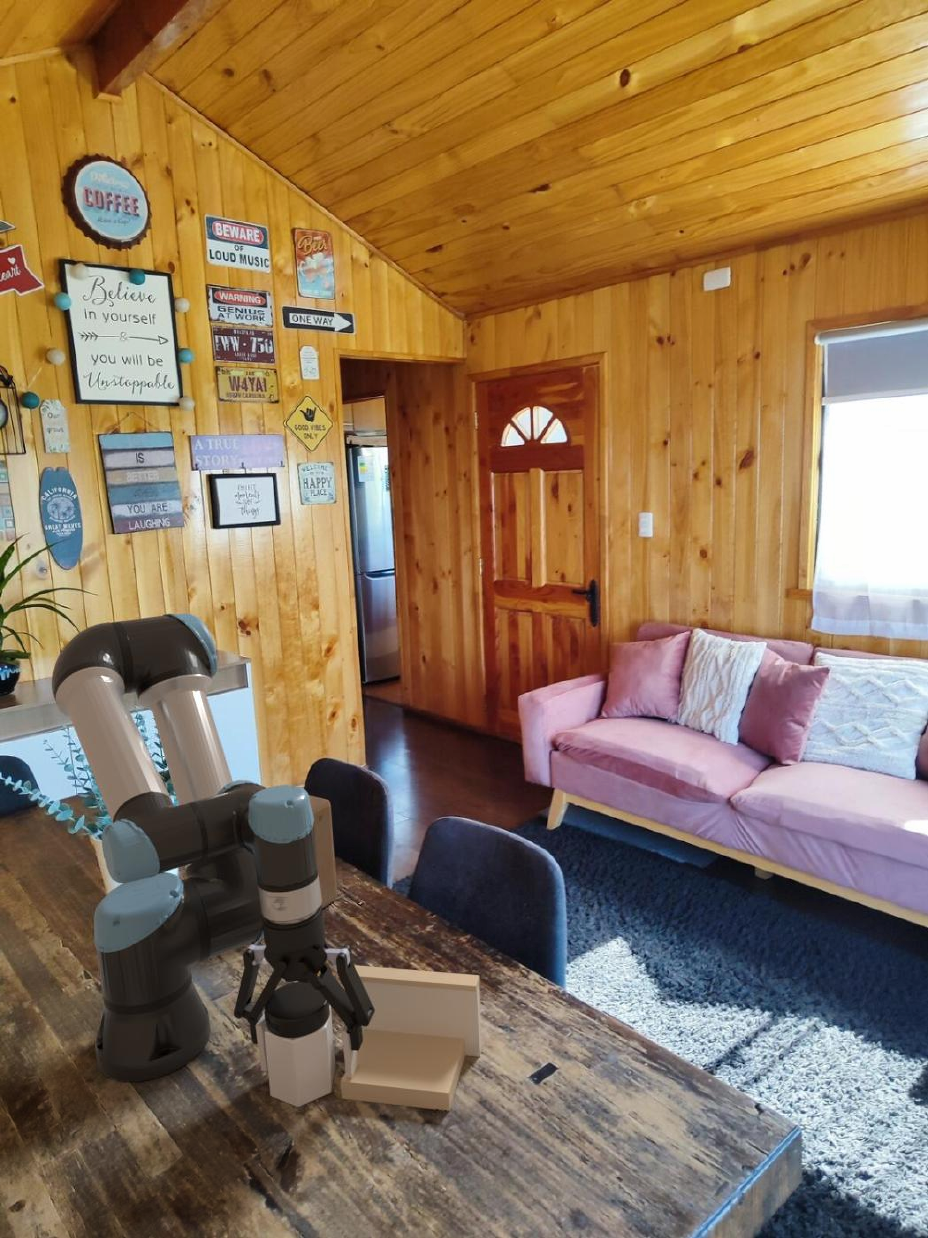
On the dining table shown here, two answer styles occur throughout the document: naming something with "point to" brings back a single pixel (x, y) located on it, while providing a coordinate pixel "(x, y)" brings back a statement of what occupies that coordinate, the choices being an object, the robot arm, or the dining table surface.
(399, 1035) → the cleat board
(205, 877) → the robot arm
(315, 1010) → the jar
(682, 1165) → the dining table surface
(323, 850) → the wooden block
